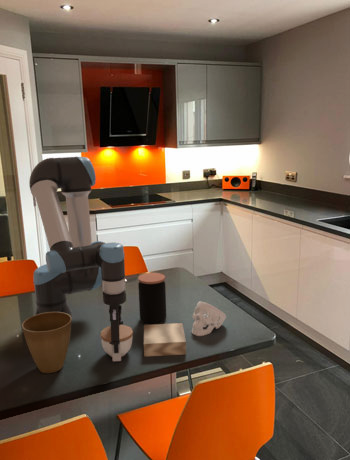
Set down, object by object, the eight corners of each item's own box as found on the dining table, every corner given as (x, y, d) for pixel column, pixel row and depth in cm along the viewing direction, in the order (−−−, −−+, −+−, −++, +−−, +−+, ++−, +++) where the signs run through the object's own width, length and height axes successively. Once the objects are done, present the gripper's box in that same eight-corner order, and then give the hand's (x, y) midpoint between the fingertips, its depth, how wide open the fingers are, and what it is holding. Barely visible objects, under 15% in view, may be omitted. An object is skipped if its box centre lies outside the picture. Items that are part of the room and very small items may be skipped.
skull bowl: (180, 328, 150) (191, 297, 152) (201, 336, 160) (212, 307, 162) (200, 337, 143) (212, 305, 145) (222, 345, 152) (233, 314, 155)
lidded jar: (97, 360, 132) (95, 334, 130) (107, 343, 142) (106, 319, 140) (128, 362, 130) (127, 336, 128) (137, 345, 141) (136, 321, 138)
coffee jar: (170, 315, 165) (169, 273, 161) (160, 327, 155) (159, 283, 151) (146, 312, 168) (144, 271, 164) (135, 323, 158) (133, 280, 154)
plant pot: (78, 374, 125) (73, 326, 121) (27, 384, 120) (21, 335, 117) (73, 351, 139) (69, 308, 135) (27, 360, 134) (22, 315, 130)
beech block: (144, 357, 134) (143, 343, 133) (144, 337, 148) (144, 324, 147) (186, 355, 135) (185, 341, 134) (182, 335, 149) (182, 323, 148)
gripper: (124, 304, 120) (128, 369, 125) (126, 277, 143) (129, 334, 148) (99, 305, 120) (103, 371, 125) (105, 278, 142) (108, 335, 147)
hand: (117, 351), depth 136 cm, fingers closed on lidded jar, 11 cm apart
